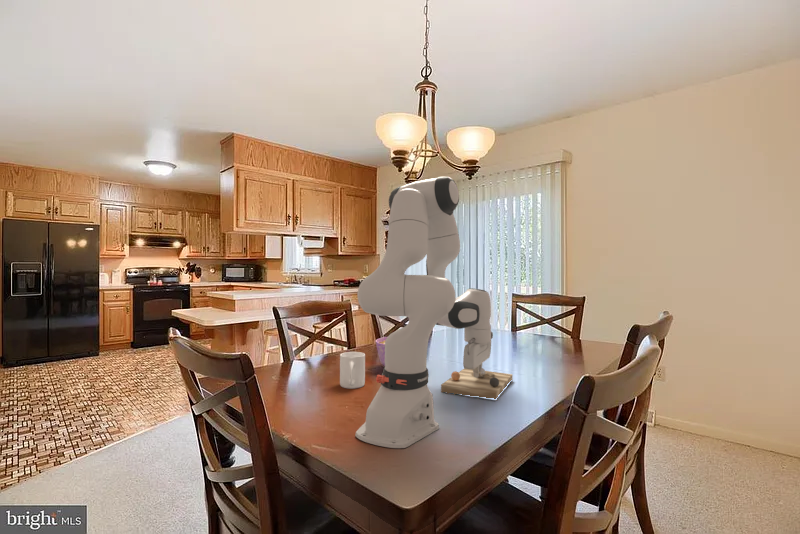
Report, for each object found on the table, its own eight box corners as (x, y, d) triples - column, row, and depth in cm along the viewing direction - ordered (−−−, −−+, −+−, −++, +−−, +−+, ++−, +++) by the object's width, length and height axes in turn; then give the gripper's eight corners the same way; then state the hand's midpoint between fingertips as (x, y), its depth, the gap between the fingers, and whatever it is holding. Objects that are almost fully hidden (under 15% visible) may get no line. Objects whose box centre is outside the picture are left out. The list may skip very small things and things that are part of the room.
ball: (486, 366, 139) (486, 376, 140) (476, 365, 141) (477, 374, 141) (483, 370, 136) (484, 380, 136) (473, 369, 138) (474, 378, 138)
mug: (337, 392, 129) (337, 359, 129) (341, 381, 141) (341, 351, 141) (363, 392, 130) (363, 359, 130) (365, 381, 142) (365, 351, 142)
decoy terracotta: (458, 382, 133) (458, 373, 133) (449, 380, 135) (449, 371, 135) (461, 379, 136) (461, 371, 136) (452, 378, 137) (453, 369, 137)
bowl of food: (426, 364, 168) (426, 336, 167) (424, 377, 148) (424, 346, 148) (379, 362, 169) (379, 335, 169) (371, 375, 150) (371, 344, 150)
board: (495, 401, 122) (495, 393, 122) (441, 392, 130) (441, 384, 130) (512, 381, 143) (512, 374, 143) (464, 374, 151) (464, 368, 151)
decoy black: (497, 388, 126) (497, 379, 126) (488, 387, 127) (488, 378, 127) (500, 386, 129) (500, 377, 129) (490, 384, 130) (491, 375, 130)
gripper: (477, 342, 124) (477, 386, 125) (494, 332, 143) (494, 370, 143) (458, 340, 127) (458, 383, 128) (477, 330, 145) (476, 368, 146)
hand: (477, 376), depth 135 cm, fingers closed
